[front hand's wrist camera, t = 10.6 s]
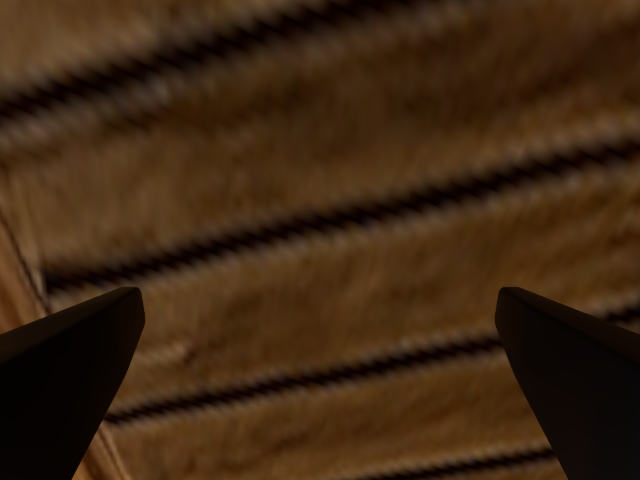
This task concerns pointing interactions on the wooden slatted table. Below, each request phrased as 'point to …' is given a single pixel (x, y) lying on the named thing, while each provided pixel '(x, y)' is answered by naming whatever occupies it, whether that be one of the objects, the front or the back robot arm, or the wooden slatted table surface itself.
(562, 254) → the wooden slatted table surface
